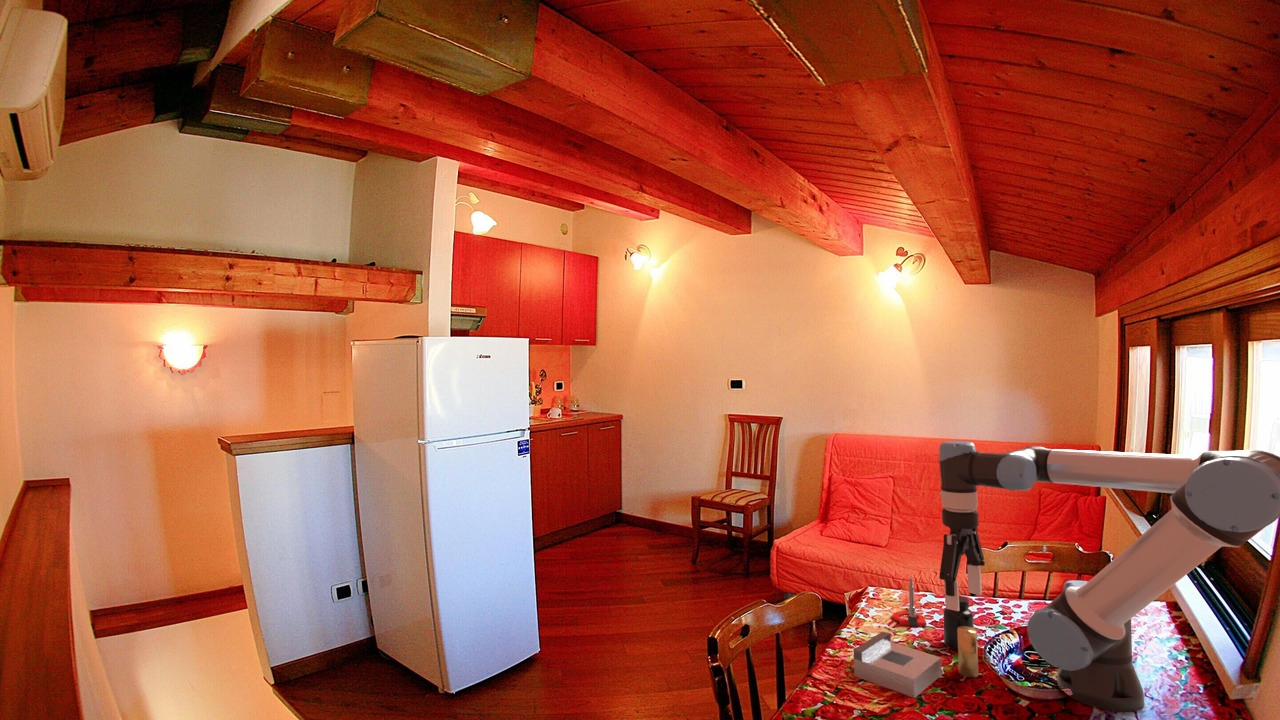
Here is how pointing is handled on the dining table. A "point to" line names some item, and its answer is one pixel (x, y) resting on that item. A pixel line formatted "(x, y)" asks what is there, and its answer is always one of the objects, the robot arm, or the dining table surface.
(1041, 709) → the dining table surface
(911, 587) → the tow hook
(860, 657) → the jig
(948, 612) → the supplement bottle
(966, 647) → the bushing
